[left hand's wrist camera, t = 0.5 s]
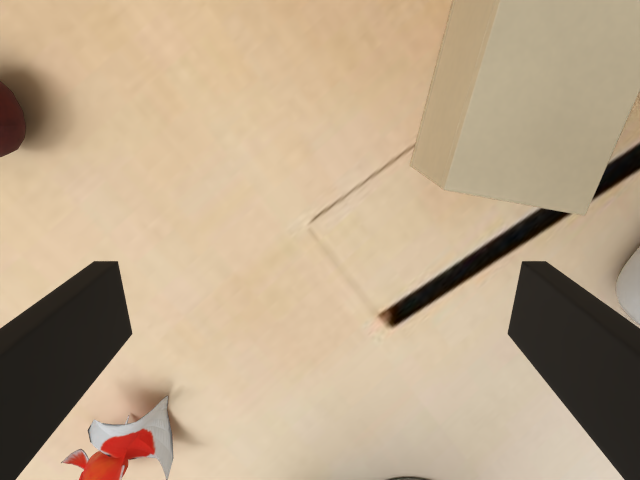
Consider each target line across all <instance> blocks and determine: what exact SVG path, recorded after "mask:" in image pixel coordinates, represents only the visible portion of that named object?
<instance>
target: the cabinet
mask: <svg viewBox="0 0 640 480" xmlns="http://www.w3.org/2000/svg"><path fill="white" fill-rule="evenodd" d="M639 91H640V0H453V2H452V6H451V9H450V13H449V17H448V21H447V25H446V29H445V32H444V36H443V40H442V44H441V48H440V52H439V55H438V59H437V63H436V67H435V71H434V75H433V79H432V82H431V86H430V90H429V94H428V98H427V102H426V105H425V109H424V113H423V117H422V121H421V125H420V128H419V132H418V136H417V140H416V144H415V148H414V151H413V155H412V159H411V163H410V166H411V167H413V168H414V169H415V170H417V171H418V172H420V173H421V174H422V175H424V176H425V177H427V178H428V179H429V180H431V181H432V182H434V183H435V184H437V185H438V186H439V187H441V188H442V189H443V190H446V191H452V192H457V193H463V194H468V195H474V196H479V197H485V198H490V199H496V200H501V201H507V202H512V203H518V204H523V205H529V206H534V207H540V208H545V209H551V210H556V211H562V212H567V213H573V214H578V215H585V214H586V212H587V210H588V207H589V205H590V203H591V201H592V198H593V196H594V194H595V191H596V189H597V187H598V185H599V182H600V180H601V178H602V175H603V173H604V171H605V169H606V166H607V164H608V162H609V159H610V157H611V155H612V153H613V150H614V148H615V146H616V143H617V141H618V139H619V137H620V134H621V132H622V130H623V127H624V125H625V123H626V121H627V118H628V116H629V114H630V111H631V109H632V107H633V105H634V102H635V100H636V98H637V95H638V93H639Z"/></svg>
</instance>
